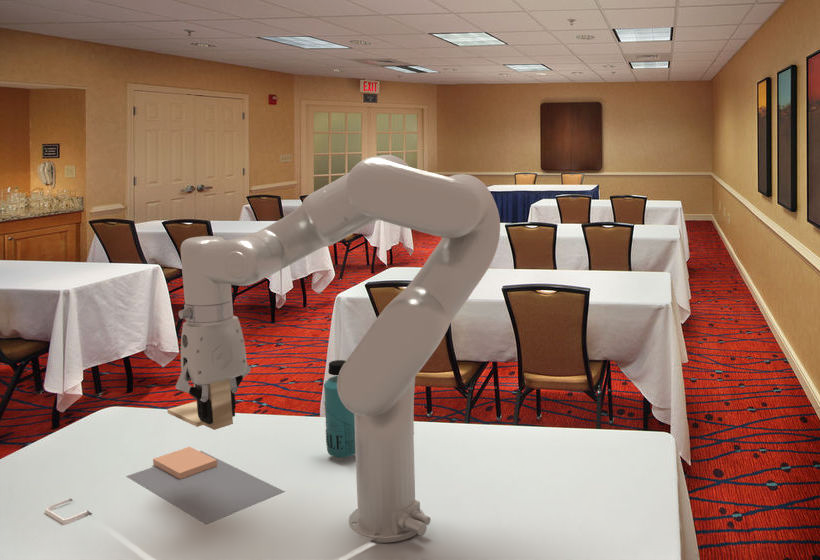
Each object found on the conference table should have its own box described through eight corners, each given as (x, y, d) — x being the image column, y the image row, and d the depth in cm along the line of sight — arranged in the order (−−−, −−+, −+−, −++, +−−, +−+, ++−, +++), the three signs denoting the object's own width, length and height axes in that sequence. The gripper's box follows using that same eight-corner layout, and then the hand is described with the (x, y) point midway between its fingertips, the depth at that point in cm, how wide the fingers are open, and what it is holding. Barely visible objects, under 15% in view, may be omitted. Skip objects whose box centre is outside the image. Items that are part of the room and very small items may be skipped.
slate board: (285, 496, 141) (284, 491, 141) (206, 529, 130) (206, 524, 130) (201, 455, 161) (200, 450, 160) (126, 481, 149) (126, 476, 149)
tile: (216, 459, 152) (189, 446, 159) (179, 473, 147) (152, 458, 154) (217, 466, 153) (190, 452, 160) (180, 479, 147) (153, 465, 154)
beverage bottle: (361, 451, 160) (358, 356, 157) (356, 465, 154) (352, 366, 150) (330, 451, 161) (325, 356, 157) (323, 465, 154) (318, 366, 151)
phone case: (65, 527, 133) (144, 495, 144) (64, 520, 133) (144, 488, 144) (44, 515, 138) (123, 485, 149) (43, 508, 138) (122, 478, 149)
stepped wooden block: (239, 422, 134) (235, 376, 133) (207, 432, 130) (204, 385, 128) (198, 404, 143) (194, 361, 142) (167, 413, 139) (163, 369, 138)
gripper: (174, 325, 121) (184, 438, 125) (264, 306, 133) (271, 410, 136) (151, 318, 127) (161, 426, 130) (240, 300, 138) (246, 401, 141)
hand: (217, 417), depth 133 cm, fingers closed on stepped wooden block, 3 cm apart
